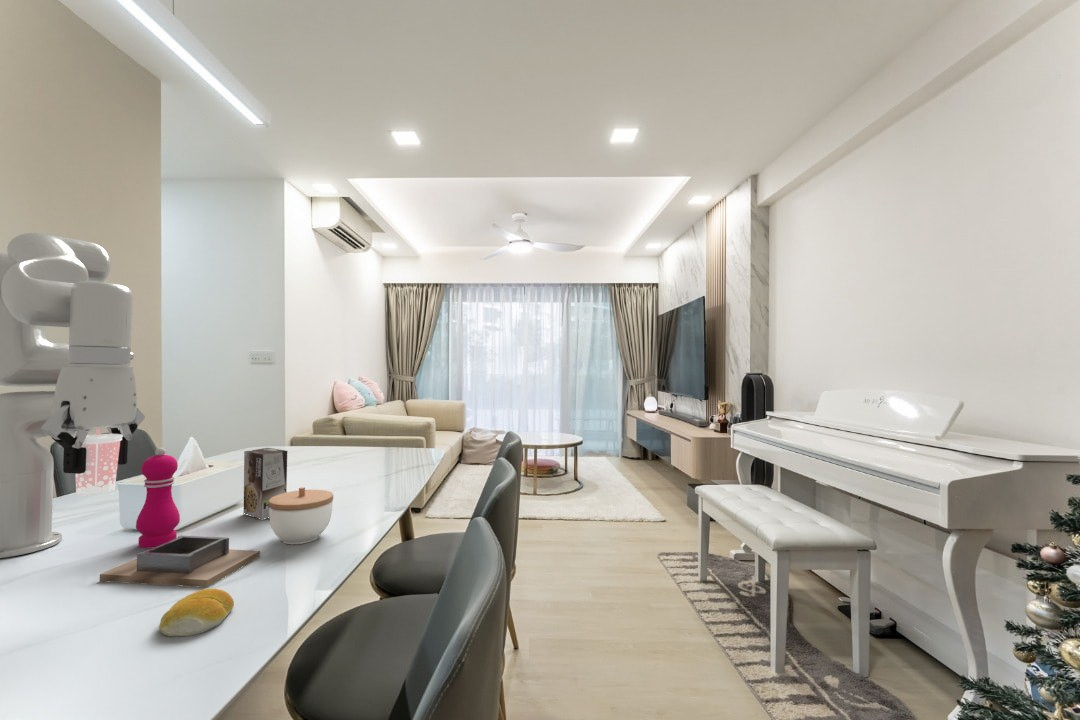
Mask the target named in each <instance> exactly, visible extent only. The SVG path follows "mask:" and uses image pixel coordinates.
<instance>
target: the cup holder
mask: <svg viewBox="0 0 1080 720" xmlns="http://www.w3.org/2000/svg"><path fill="white" fill-rule="evenodd" d="M260 556H261V554H260V550H251V549H247V550H246V549H230V538H229V537H222V536H220V537H219V536H200V535H199V536H198V535H195V536H194V535H179V536H177V538H176V539H174V540H171V541H169V542H166V543H164V544H162V545H159V546H157V547H154V548H149V549H148V550H145V551H140V552H138V553H136V558H135V559H131V560H130V561H127V562H125V563H123V564H120V565H118V566H115V567H113V568H111V569H108V570H106V571H104V572H101V573H100V574H99V580H98V581H99V582H105V581H110V582H109V583H123V582H129V584H141V583H147V584H146V585H158V586H159V585H162V586H164V585H165V586H176V585H183V586H182V587H194V586H199V587H200V588H209V587H210V586H212V585H214V584H216V583H217V582H219V581H221V580H222V578H223V579H224V578H226V577H227V575H228V576H229V575H231V574H232V572H233V573H234V571H235V572H236V571H238V570H240V569H241V567H242V566H243V567H245V566H247V565H248V564H251V563H252V562H254V561H255V560H257V559H259V558H260ZM253 560H254V561H253ZM246 564H247V565H246ZM244 565H245V566H244ZM243 567H242V568H243ZM239 568H240V569H239ZM237 569H238V570H237ZM225 576H226V577H225ZM199 587H198V588H199Z"/></svg>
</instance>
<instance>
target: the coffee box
mask: <svg viewBox="0 0 1080 720" xmlns="http://www.w3.org/2000/svg"><path fill="white" fill-rule="evenodd" d="M243 453H244V455H243V456H244V457H243V458H244V459H243V514H244V513H245V514H248V515H251V516H254V517H257V518H260V519H264V518H268V517H269V500H270V498H272V497H274V496H276V495H279V494H282V493H286V492H287V489H288V488H287V485H288V484H287V483H288V481H287V480H288V479H287V478H288V450H286V449H280V448H272V447H264V448H257V449H251V450H245V451H244V452H243ZM251 516H250V517H251ZM254 517H253V518H254ZM257 518H256V519H257ZM260 519H259V520H260ZM268 519H269V518H268ZM264 520H265V519H264Z"/></svg>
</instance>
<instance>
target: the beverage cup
mask: <svg viewBox="0 0 1080 720" xmlns="http://www.w3.org/2000/svg"><path fill="white" fill-rule="evenodd" d="M73 437H74V438H75V436H73ZM122 437H123V435H122V434H110V433H101V428H96V429H95V433H94V434H87V436H86V438H85V441H84V443H83V445H82V447H85V448H86V450H87V451H86V471H85V472H84V473H81V474H75V473H74V474H75V493H76V495H78V496H95V495H100V494H106V493H110V492H113V491H114V490H115V489H116V480H117V472H118V465H119V464H118V457H119V448H120V441H121V440H122Z"/></svg>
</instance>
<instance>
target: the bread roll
mask: <svg viewBox="0 0 1080 720" xmlns="http://www.w3.org/2000/svg"><path fill="white" fill-rule="evenodd" d="M234 605H235V601H234V599H233V597H232V596H231V594H230V593H228V592H227V591H225V590H223V589H218V588H204V589H200V590H198V591H195V592H192V593H190V594H188V595H187V596H185V597H182V598H181V599H179V600H177V602H175V603H174V604H173V605H172V606H171V608H169V609H168V610H167V611H165V613H164V614H163V615H162V616H161V618H160V622H159V625H158V626H159V628H158V629H159V631H160V633H162V634H163V635H164V636H166V637H167V636H168V637H186V636H187V637H188V636H193V635H198V634H202V633H204V632H206V631H209V630H211V629H213V628H215V627H217V626H219V625H221V623H222V622H223V621H224V620H225V619H226V617H227V616H229V614H230V613H231V612H232V610H233V609H234Z"/></svg>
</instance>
